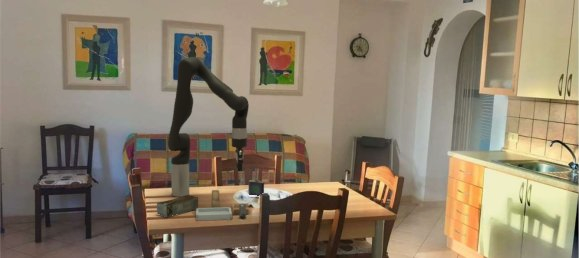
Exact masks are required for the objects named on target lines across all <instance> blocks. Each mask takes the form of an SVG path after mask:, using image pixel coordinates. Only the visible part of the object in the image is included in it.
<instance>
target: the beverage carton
mask: <svg viewBox="0 0 579 258" xmlns="http://www.w3.org/2000/svg"><path fill="white" fill-rule="evenodd" d="M196 208H199V197H198V196H194V195H190V194H189V195H185V196H182V197H175V198H172V199H169V200H164V201H160V202H157V203H156V214H160V215H162V216H165V217H169V216H172V215H176V214H179V215H181V214H180V213H183V214H185V213H184V212H186V213H189V212H192V210H193V211H195V210H196ZM188 211H189V212H188ZM162 216H161V217H162ZM176 216H177V215H176ZM165 217H164V218H165ZM172 217H173V216H172ZM169 218H170V217H169Z"/></svg>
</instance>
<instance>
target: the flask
mask: <svg viewBox="0 0 579 258" xmlns="http://www.w3.org/2000/svg"><path fill="white" fill-rule="evenodd" d="M262 193H264V194H265V182H264V181H262V180H259V177H256V178H254V180H248V193H247V195H248V194H249V195H257V196H259V195H260V194H262Z"/></svg>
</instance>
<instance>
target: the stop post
mask: <svg viewBox="0 0 579 258" xmlns="http://www.w3.org/2000/svg"><path fill="white" fill-rule="evenodd" d="M238 218H239V219H241V220H243V219H246V218H247V215H246V205H245V204H240V205H239V215H238Z"/></svg>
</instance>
